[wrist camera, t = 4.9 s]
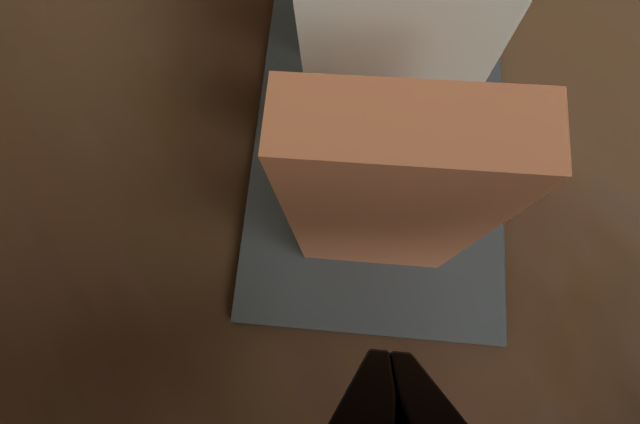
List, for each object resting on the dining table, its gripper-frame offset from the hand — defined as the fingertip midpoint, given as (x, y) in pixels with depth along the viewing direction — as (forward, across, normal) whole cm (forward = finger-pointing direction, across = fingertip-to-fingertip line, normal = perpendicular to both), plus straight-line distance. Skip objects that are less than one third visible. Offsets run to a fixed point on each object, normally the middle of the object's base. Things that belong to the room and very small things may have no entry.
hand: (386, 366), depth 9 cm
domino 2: (+8, 0, -2) cm, 8 cm away
